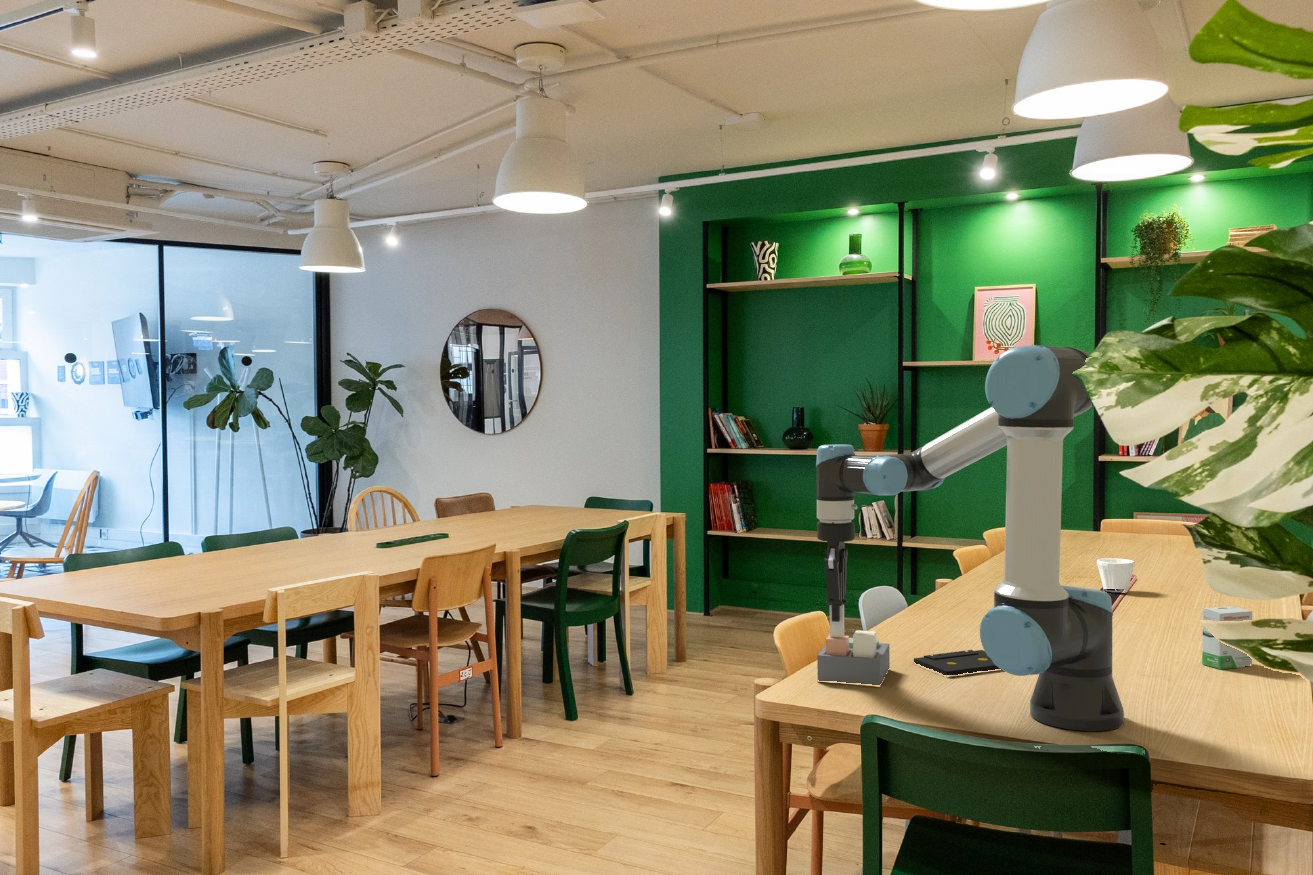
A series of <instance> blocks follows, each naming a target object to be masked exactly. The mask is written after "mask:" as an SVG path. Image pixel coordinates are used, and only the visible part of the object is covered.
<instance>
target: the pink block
mask: <svg viewBox="0 0 1313 875" xmlns="http://www.w3.org/2000/svg"><path fill="white" fill-rule="evenodd" d="M849 638H850V636H849V635H844V637H843V638H841V637H830V634H828V636H826V638H825V646H826V655H838V656H848V655H849Z"/></svg>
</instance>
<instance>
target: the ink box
mask: <svg viewBox="0 0 1313 875" xmlns="http://www.w3.org/2000/svg"><path fill="white" fill-rule="evenodd" d="M1203 620H1212V621H1243V620H1252V621H1253V611H1252V610H1248V609H1245V608H1241V607H1237V606H1233V605H1231V606H1218V607H1216V606H1215V607H1205V608H1203V609H1202V621H1203ZM1201 643H1202V644H1201V645H1202V647H1201V648H1202V650H1201V651H1202V652H1201V653H1202V655H1201V656H1202V657H1201V664H1202V665H1205V666H1208V667H1211V668H1214V669H1219V670H1227V669H1228V670H1229V669H1239V668H1246V667H1245V666H1250V664H1252V665H1253V658H1252V659H1251V658H1250V657H1249V656H1247V654H1245V653H1243V652H1241V651H1239V650H1237V649H1235V648H1232V647H1230V646H1227V645H1225V644H1223V643H1221V642H1220V641H1218V639H1216V638H1215V637H1214V636H1213V635H1212V634H1211V633H1210V632H1209V631H1208V629H1206V627H1205V626H1203V625H1202V642H1201ZM1250 667H1251V666H1250Z"/></svg>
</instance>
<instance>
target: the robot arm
mask: <svg viewBox="0 0 1313 875" xmlns="http://www.w3.org/2000/svg"><path fill="white" fill-rule="evenodd" d="M1089 355H1091V354H1089V353H1088V352H1086V351H1085V350H1083V349H1081V348H1080V349H1079V348H1077V347H1071V346H1051V345H1038V344H1030V345H1023V346H1022V345H1021V346H1014V347H1012V348H1009V349H1008V350H1006V351H1004V352H1002V353H1001V354H1000V355H999V356H998V357H997V358H996V359H994V361H993V362H992V363H991V366H990V367H989V369H988V371H987V375H986V377H985V381H984V382H985V385H984V390H985V391H984V392H985V397H986V400H987V402H988V404H990V405H991V406H990V407H988V408H987V409H985V410H983V411H982V412H980V413H978V414H977V415H975V416H974V417H973V416H972V418H971V417H970V419H967V420H966V421H964V422H963V423H961V424H959V425H957V426H955V427H954V428H952V429H950V430H949V431H947V432H945V433H944V434H941V435H940V436H937V437H936V438H935V439H933V440H931V441H930V442H927V443H925V444H924V445H923V446H921V447H919V448H917V449H915V450H913V451H912V452H909V453H896V454H883V455H882V454H881V455H880V454H879V455H859V454H858V455H857V454H856V453H855V448H854V446H853V445H852V444H822V445H820V446H818V447H817V450H816V460H815V461H816V463H815V470H816V519H818V520H819V521H817V523H816V525H817V526H816V534H817V535H816V538H817V539H818V540H819V541H821V542H826V543H827V549H825V550H824V561H823V563H824V569H825V584H826V601H825V606H829V608H828V609H829V635H830V637H841V638H843V637H844V636H845V604H848V603H849V600H848V599H846V597H847V569H848V568H847V565H848V564H847V563H848V555H849V552H848V548H846V547H845V546H846V545H845V542H846V543H847V542H852V541H854V540H855V539H856V528H855V527H856V526H855V522H854V521H852V520H854V519H855V510H857V509H858V505H857V504H855V494H857V493H858V494H865V495H866V494H867V495H876V496H879V497H883V496H896V495H898V494H899V493H901V492H914V491H915V492H916V491H917V492H918V491H921V492H922V491H928V490H932V489H936V488H938V487H940V486H941V485H942V484H943V483H944V481H945V480H946V477H948V476H951V475H952V474H954V473H957V472H958V471H960V470H962V469H964V468H966V467H967V466H970V465H972V464H974V463H975V462H977V461H979V460H981V459H983V458H985V457H987V456H988V455H991V454H992V453H994V452H997V451H998V450H1000V449H1003V448H1005V447H1006V449H1007V450H1006V484H1005V485H1006V487H1005V526H1004V527H1005V529H1004V534H1005V536H1004V569H1003V570H1004V571H1003V573H1004V574H1003V579H1002V581H1001V582H1000V583H998V585H996V586H995V587H994V592H993V593H994V594H993V607H992V608H991V609H989V610H988V612H986V614H984V615H983V617H982V618H981V621H980V625H979V639H980V642H981V645H982V646H981V647H982V648H983V650H984V651H985V652H986V654H987V656H988V657H990V658H991V660H992V661H993V663H994V664H995V665H996V666H997V667H999V668H1000V669H1001V670H1002V671H1003V672H1005V673H1007V674H1009V675H1013V676H1019V677H1025V676H1033V675H1038V676H1037V679H1036V680H1037V681H1036V683H1035V686H1034V689H1033V692H1032V695H1031V697H1030V702H1029V714H1030V716H1031V718H1033V719H1034V720H1035V721H1037V722H1040V723H1043V724H1045V725H1049V726H1051V727H1055V728H1059V729H1060V728H1061V729H1065V730H1073V731H1080V732H1081V731H1084V732H1104V731H1111V730H1115V729H1118V728H1120V727H1122V726H1123V725H1124V724H1125V712H1124V707H1123V704H1122V701H1121V697H1120V695H1119V692H1118V690H1117V687H1116V684H1115V681H1114V678H1113V617H1114V611H1113V607H1112V606H1113V605H1112V598H1111V596H1110V593H1107V592H1105V591H1104V590H1100V589H1095V588H1088V587H1087V588H1086V587H1079V586H1072V585H1062V584H1061V583H1060V574H1061V573H1060V569H1061V568H1060V565H1061V529H1062V528H1061V527H1062V491H1063V487H1062V486H1063V485H1062V484H1063V458H1064V457H1063V454H1064V453H1063V452H1064V451H1063V450H1064V448H1063V447H1064V439H1065V437H1066V436H1068V434H1070V432H1072V431H1073V430H1074V420H1075V419H1074V418H1075V417H1077V416H1079V415H1081V414H1084V413H1085V412H1087V411H1088V410H1090V409H1091V408H1093V406H1092V402H1091V401H1090V398H1088V395H1087V394H1086V391H1085V390H1084V387H1083V385H1082V383H1081V382H1080V380H1079V379H1078V378H1077V377H1074V376H1073V375H1072V373H1073V371H1075V370H1077V369H1080V367H1082V366H1084V362H1085V360H1086V358H1088V356H1089Z"/></svg>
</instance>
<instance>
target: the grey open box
mask: <svg viewBox="0 0 1313 875" xmlns="http://www.w3.org/2000/svg"><path fill="white" fill-rule="evenodd" d="M876 652H877V657H876V658H866V657H853V637H849V655H848V656H838V655H826V645H825V646H824V647H823V648H822V649H821V650H820V651H819V653H818V654H817V661H816V662H817V664H816V665H817V666H816V667H817V668H816V669H817V681H818V680H819V681H837V682H846V683H861V684H872V685H880V684H881V683H882V681H883V679H884V677H885V675H886V673H887V671H888V669H889V668H891V667H890V664H891V663H890V661H891V660H890V656H891V655H890V643H885V642H884V643H883V642H880V640H879V639H876ZM883 682H884V681H883ZM882 684H883V683H882Z"/></svg>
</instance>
